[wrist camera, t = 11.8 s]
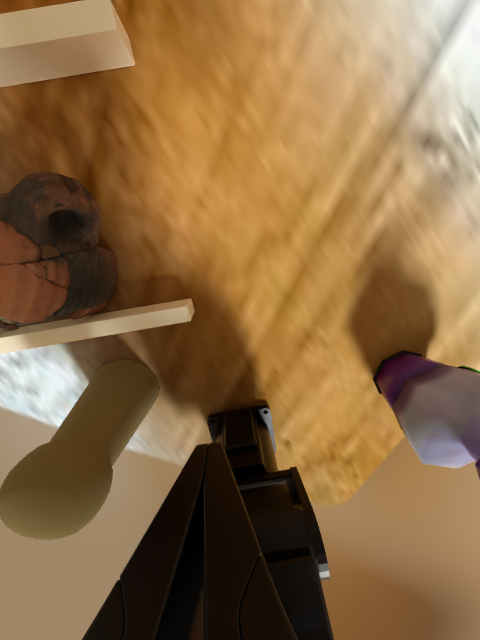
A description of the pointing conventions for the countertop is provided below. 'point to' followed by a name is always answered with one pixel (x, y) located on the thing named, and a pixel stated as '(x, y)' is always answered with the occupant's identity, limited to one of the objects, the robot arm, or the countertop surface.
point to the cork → (78, 455)
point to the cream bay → (55, 62)
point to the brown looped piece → (58, 272)
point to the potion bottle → (434, 407)
